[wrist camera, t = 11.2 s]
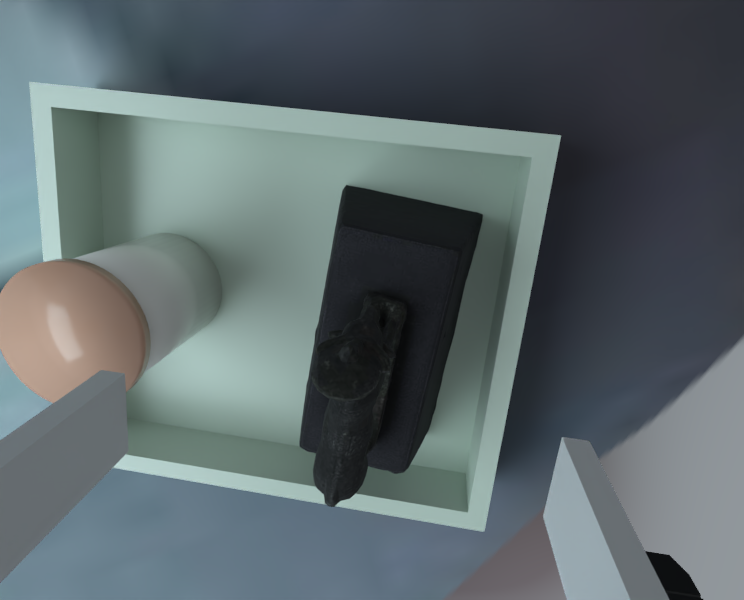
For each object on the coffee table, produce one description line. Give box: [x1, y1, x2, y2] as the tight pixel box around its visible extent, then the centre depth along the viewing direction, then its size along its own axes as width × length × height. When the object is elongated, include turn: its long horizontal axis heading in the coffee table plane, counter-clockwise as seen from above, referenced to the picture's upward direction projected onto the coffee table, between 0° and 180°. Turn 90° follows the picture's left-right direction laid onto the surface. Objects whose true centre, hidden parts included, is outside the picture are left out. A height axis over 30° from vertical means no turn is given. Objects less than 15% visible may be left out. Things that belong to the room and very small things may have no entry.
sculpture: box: [299, 185, 483, 507], centre depth 22 cm, size 8×13×15 cm, turn 166°
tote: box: [29, 82, 561, 532], centre depth 28 cm, size 20×24×4 cm
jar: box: [0, 233, 222, 403], centre depth 26 cm, size 6×6×9 cm
